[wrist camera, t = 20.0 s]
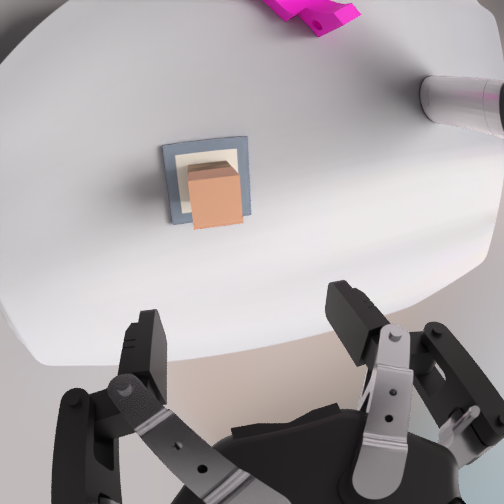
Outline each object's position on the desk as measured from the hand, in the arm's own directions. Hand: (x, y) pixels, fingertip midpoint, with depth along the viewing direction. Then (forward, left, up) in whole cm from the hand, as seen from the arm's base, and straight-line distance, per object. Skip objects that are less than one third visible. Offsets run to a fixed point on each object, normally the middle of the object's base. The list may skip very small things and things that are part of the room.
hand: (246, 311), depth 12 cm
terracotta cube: (0, 0, -22) cm, 22 cm away
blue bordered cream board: (0, 0, -27) cm, 27 cm away
